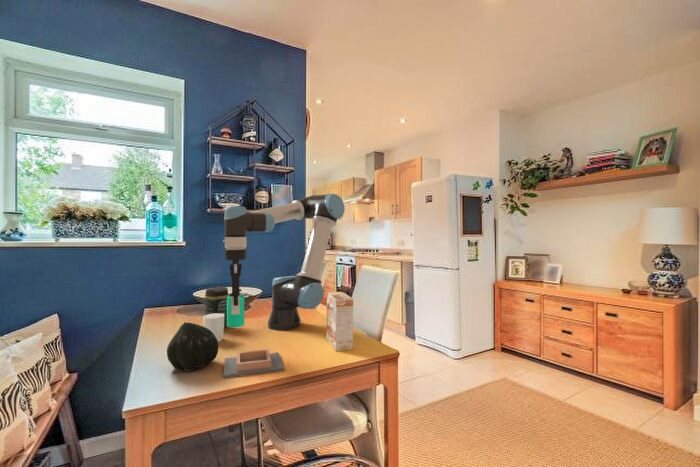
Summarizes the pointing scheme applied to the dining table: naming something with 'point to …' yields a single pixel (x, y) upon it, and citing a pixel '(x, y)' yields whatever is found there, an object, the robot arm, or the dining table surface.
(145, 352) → the dining table surface
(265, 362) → the candle plate
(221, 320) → the white cup
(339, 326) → the coffeecake box
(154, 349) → the dining table surface
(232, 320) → the candle
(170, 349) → the squash
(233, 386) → the dining table surface
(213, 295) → the coffee jar
